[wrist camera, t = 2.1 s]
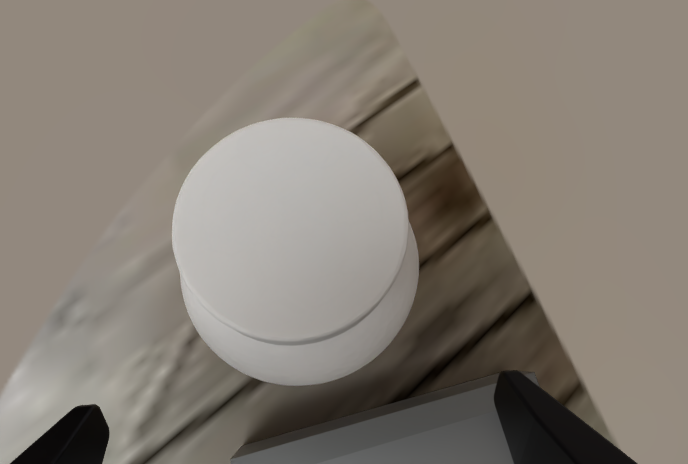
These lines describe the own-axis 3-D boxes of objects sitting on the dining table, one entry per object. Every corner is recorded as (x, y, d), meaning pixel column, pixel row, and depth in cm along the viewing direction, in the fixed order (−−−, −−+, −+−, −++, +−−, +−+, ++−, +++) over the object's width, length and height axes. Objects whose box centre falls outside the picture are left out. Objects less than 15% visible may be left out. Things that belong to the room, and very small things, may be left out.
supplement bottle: (355, 224, 21) (402, 49, 9) (394, 348, 20) (517, 336, 7) (229, 257, 21) (96, 111, 8) (259, 390, 19) (145, 456, 7)
